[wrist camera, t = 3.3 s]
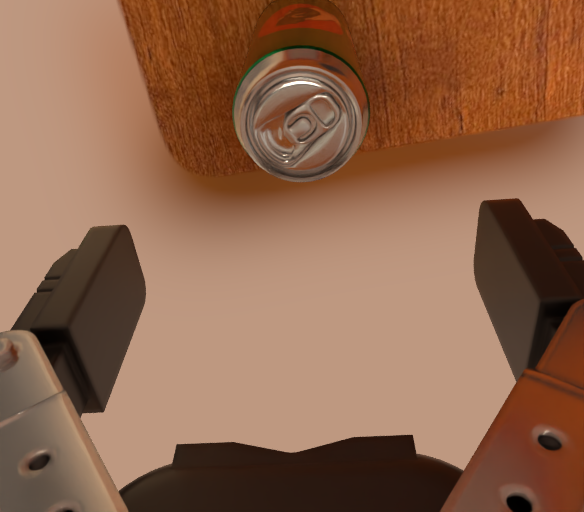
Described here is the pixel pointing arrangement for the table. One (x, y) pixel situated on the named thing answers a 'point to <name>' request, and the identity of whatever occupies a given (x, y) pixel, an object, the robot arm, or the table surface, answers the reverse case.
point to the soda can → (301, 92)
